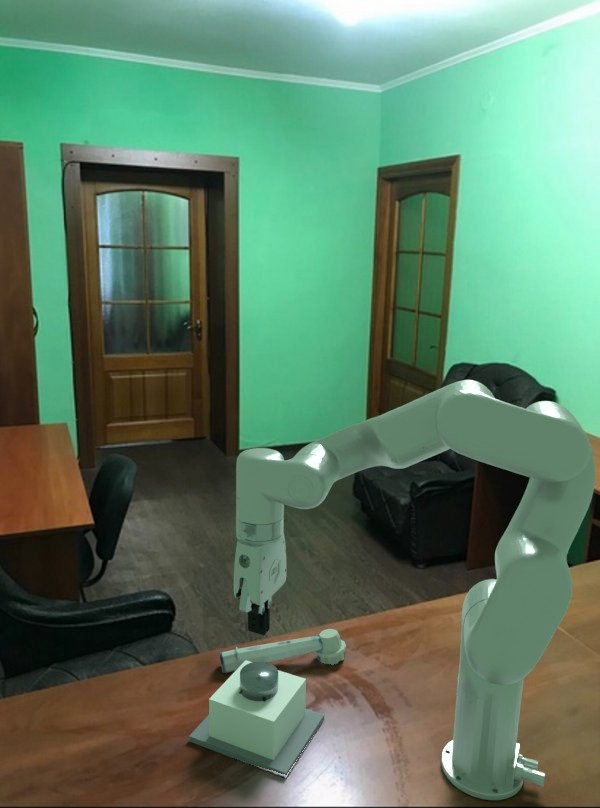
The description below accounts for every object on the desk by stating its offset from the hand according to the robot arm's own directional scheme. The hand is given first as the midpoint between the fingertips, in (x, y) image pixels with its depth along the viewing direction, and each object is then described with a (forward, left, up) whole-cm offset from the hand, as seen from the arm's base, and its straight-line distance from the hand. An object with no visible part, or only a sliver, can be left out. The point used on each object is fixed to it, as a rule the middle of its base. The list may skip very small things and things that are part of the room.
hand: (258, 630), depth 108 cm
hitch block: (0, 0, -19) cm, 19 cm away
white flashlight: (+5, -19, -19) cm, 27 cm away
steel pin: (0, 0, -17) cm, 17 cm away
